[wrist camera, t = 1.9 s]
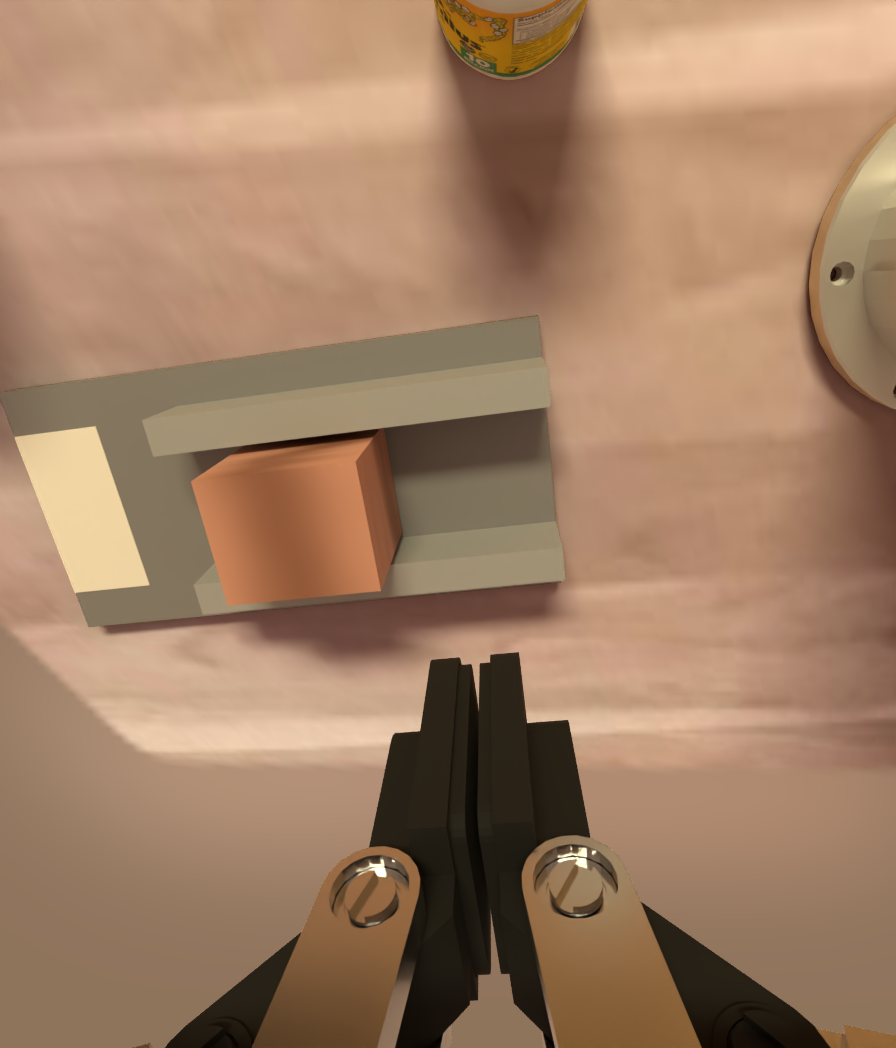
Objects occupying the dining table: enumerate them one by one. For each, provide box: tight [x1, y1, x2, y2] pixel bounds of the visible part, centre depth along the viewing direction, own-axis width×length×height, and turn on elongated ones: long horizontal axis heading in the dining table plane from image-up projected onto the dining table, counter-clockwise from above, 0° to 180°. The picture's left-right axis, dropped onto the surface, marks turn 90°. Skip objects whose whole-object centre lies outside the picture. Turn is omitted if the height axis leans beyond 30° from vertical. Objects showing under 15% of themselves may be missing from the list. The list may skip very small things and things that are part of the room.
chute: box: [0, 315, 565, 627], centre depth 28 cm, size 24×12×4 cm, turn 98°
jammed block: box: [191, 428, 402, 606], centre depth 26 cm, size 6×5×6 cm
